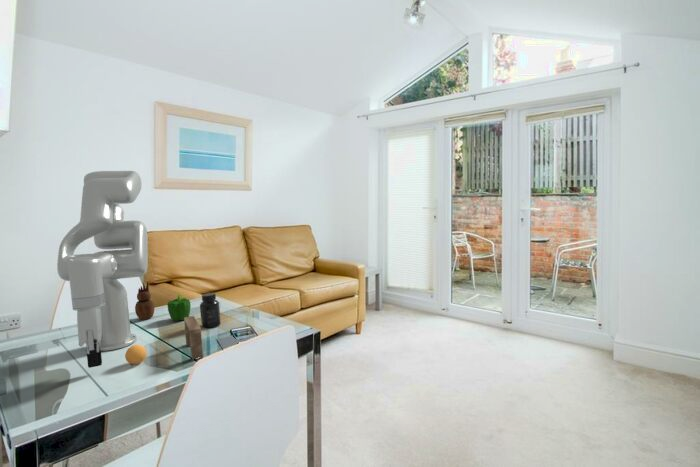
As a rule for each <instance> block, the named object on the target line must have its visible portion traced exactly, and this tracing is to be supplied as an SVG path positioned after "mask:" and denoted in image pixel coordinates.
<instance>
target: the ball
mask: <svg viewBox="0 0 700 467" xmlns="http://www.w3.org/2000/svg"><path fill="white" fill-rule="evenodd" d="M125 351H126V352H125V354H124V357H125V360H126V362H127V363H128V364H130V365H139V364H141V363H142V362H143V361H144V360H145V359H146V357H147V350H146V348H145V347H144V346H143V345H141V344H134V345H131V346H130V347H129V348H128V349H127V350H125Z"/></svg>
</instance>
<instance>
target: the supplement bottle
mask: <svg viewBox="0 0 700 467" xmlns="http://www.w3.org/2000/svg"><path fill="white" fill-rule="evenodd" d="M201 301H202V302H200V304H199V310H200V311H199V312H200V322H201V327H202V328H203V329H212V328H216V327H219V326H220V325H221V310H220V302H219V301H218V300H217V296H216V293H215V292H208V293H204V294H202V295H201Z"/></svg>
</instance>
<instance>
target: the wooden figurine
mask: <svg viewBox="0 0 700 467" xmlns="http://www.w3.org/2000/svg"><path fill="white" fill-rule="evenodd" d="M137 291H138V292H137V295H136V299H137V302H136V303H135V306H134V311H135V314H136V316H137V318H138V319H139V320H143V319H145V320H149V319H151V317H152V318H153V317H154V314H155V303H154V301H153V300H152V299H151V298H152V297H151V292H150V288H149V281H147V282H146V286H145V283H144V282H143V283H142V285H141V286H140V288H138V290H137Z"/></svg>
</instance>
